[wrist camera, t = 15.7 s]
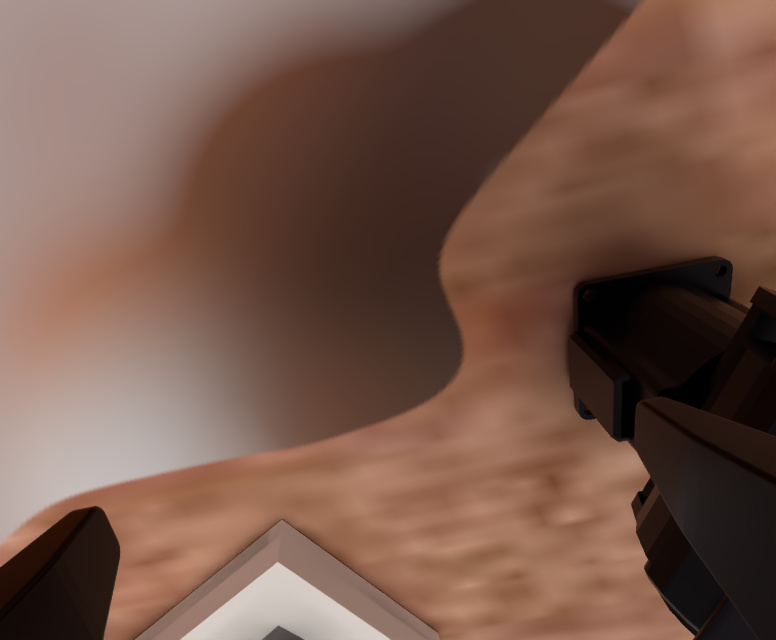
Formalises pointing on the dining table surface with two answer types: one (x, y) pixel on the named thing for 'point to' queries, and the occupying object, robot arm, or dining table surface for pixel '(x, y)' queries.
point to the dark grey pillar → (281, 635)
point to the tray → (287, 599)
